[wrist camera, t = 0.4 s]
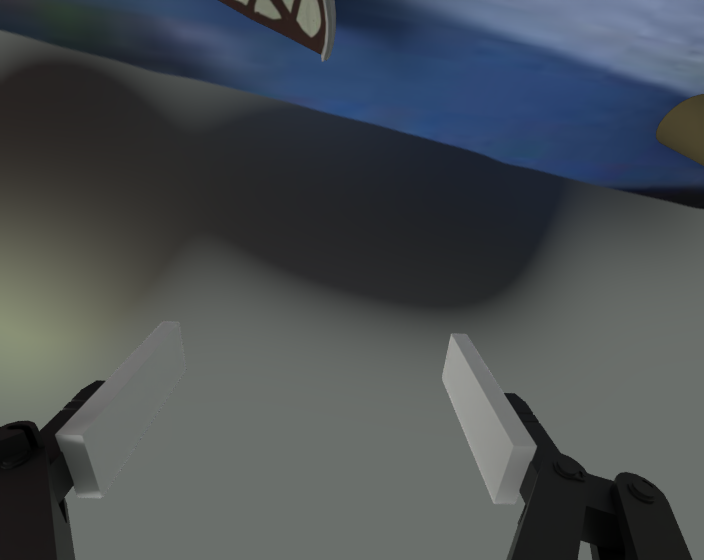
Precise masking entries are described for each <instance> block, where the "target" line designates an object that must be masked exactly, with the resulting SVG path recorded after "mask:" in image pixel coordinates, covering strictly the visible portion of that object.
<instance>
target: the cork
mask: <svg viewBox="0 0 704 560" xmlns="http://www.w3.org/2000/svg"><path fill="white" fill-rule="evenodd" d="M656 138H657V140H658V141H659V143H661V144H663V145H665V146H667V147H669V148H671V149H673V150H675V151H677V152H678V153H680V154H682V155H684V156H686V157H688V158H690V159H692V160H694V161H696V162H697V163H699V164H701V165H703V166H704V94H701V95H697V96H694V97H691V98H689V99H687V100H685V101H683V102H681V103H680V104H679V105H677V106H676V107H674V108H673V109H672V110H671V111H670V112H669V113H668V114H667V115H666V116H665V117H664V118H663V120H662V121H661V122H660V124H659V126H658V128H657V131H656Z"/></svg>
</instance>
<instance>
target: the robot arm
mask: <svg viewBox="0 0 704 560" xmlns="http://www.w3.org/2000/svg"><path fill="white" fill-rule="evenodd" d="M185 371H186V365H185V357H184V351H183V344H182V337H181V330H180V324H179V322H169V321H168V322H167V321H162V322H161V324H160V325H159V326H158V327H157V328H156V329H155V330H154V331H153V332H152V333H151V334H150V335H149V336H148V337H147V338H146V339H145V340H144V342H142V344H141V345H140V346H139V347H138V348H137V349H136V350H135V351H134V352H133V353H132V354H131V355H130V356H129V357H128V358H127V359H126V361H125V362H124V363H123V364H122V365H121V366H120V367H119V368H118V369H117V370H116V371H115V372H114V373H113V374H112V375H111V376H110V377H109V378H108V379H107V380H106V381H95V382H94V383H92V384H90V385H88V386H87V387H85V388H84V389H82V390H81V391H80V392H79V393H78V394H77V395H76V396H75V397H74V398H73V399H72V401H71V402H69V403H68V404H67V405H66V406H65V407H64V408H63V410H62V411H60V412H59V413H58V414H57V415H56V416H55V417H54V418H53V419H52V420H51V421H49V423H48V424H47V425H45V426H44V427H43V428H42V429H41V430H40V431H39V430H38V428H37V426H36V424H35V423H34V422H31V421H17V422H13V423H9V424H6V425H4V426H2V427H0V560H75V555H74V548H73V542H72V535H71V528H70V522H69V516H68V509H67V503H66V500H65V498H64V497H65V496H66V494H67V493H68V492H69V490H70V489H71V488H72V486H74V488H75V491H76V494H77V497H78V498H103V496H104V495H105V493H106V491H107V490H108V488H109V487H110V485H111V484H112V482H113V481H114V479H115V478H116V476H117V475H118V473H119V472H120V470H121V468H122V467H123V465H124V464H125V462H126V461H127V459H128V458H129V456H130V454H131V453H132V452H133V450H134V449H135V447H136V446H137V444H138V443H139V441H140V440H141V438H142V436H143V435H144V433H145V432H146V430H147V429H148V427H149V426H150V424H151V423H152V421H153V420H154V418H155V417H156V415H157V414H158V412H159V410H160V409H161V407H162V406H163V404H164V403H165V401H166V400H167V398H168V397H169V395H170V394H171V392H172V391H173V389H174V387H175V386H176V384H177V383H178V381H179V380H180V378H181V377H182V375H183V374H184V372H185ZM442 380H443V382H444V385H445V387H446V390H447V392H448V394H449V397H450V399H451V402H452V404H453V407H454V409H455V411H456V414H457V416H458V418H459V421H460V424H461V426H462V428H463V431H464V433H465V436H466V438H467V440H468V443H469V445H470V448H471V450H472V453H473V455H474V457H475V460H476V462H477V464H478V467H479V469H480V472H481V474H482V477H483V479H484V481H485V484H486V486H487V488H488V491H489V494H490V496H491V498H492V501H493V503H494V504H515V503H516V500H517V498H518V495H519V493H520V494H521V496H522V498H523V500H524V502H525V506H524V509H523V512H522V514H521V516H520V519H519V521H518V527H517V530H516V533H515V536H514V539H513V542H512V545H511V548H510V551H509V554H508V557H507V560H578V553H579V547H580V541H584V542H588V543H590V548H591V554H592V560H692V558H691V555H690V553H689V551H688V548H687V545H686V543H685V541H684V538H683V536H682V533H681V531H680V529H679V526H678V524H677V521H676V519H675V517H674V514H673V512H672V509H671V507H670V505H669V502H668V500H667V499H666V497H665V495H664V494H663V493H662V492H661V491H660V490H659V489H658V488H657V487H656V486H655V485H654V484H652V483H651V482H649V481H648V480H646V479H645V478H643V477H640V476H638V475H636V474H632V473H628V472H624V473H620V474H618V475H617V476H616V478H615V480H614V481H611V480H608V479H604V478H601V477H598V476H594V475H591V474H588V473H587V472H586V471H585V469H584V468H583V467H582V466H581V465H580V464H579V463H578V462H577V461H575V460H574V459H572V458H571V457H569V456H566V455H564V454H561V453H560V452H559V450H558V449H557V447H556V446H555V444H554V443H553V441H552V440H551V438H550V437H549V436H548V434H547V433H546V431H545V430H544V428H543V427H542V426H541V424H540V423H539V421H538V420H537V418H536V417H535V415H533V412H532V411H531V409H530V408H529V406H528V405H527V404H526V402H525V401H523V400H522V399H521V398H520V397H518V396H517V395H516V394H515V393H503V391H502V390H501V388H500V387H499V385H498V384H497V382H496V381H495V379H494V377H493V376H492V374H491V373H490V371H489V369H488V368H487V366H486V364H485V363H484V361H483V360H482V358H481V357H480V355H479V353H478V352H477V350H476V349H475V347H474V345H473V344H472V342H471V341H470V339H469V337H468V336H467V334H451V338H450V342H449V347H448V352H447V357H446V361H445V366H444V371H443V375H442Z"/></svg>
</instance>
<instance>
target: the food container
mask: <svg viewBox="0 0 704 560" xmlns="http://www.w3.org/2000/svg"><path fill="white" fill-rule="evenodd" d="M218 1H220V2H222V3H224V4H226V5H227V6H229V7H231V8H233V9H234V10H236V11H238V12H240V13H241V14H243V15H245V16H247V17H248V18H250V19H252V20H254V21H256V22H258V23H260V24H262V25H264V26H266V27H268V28H270V29H272V30H274V31H276V32H278V33H280V34H282V35H284V36H286V37H288V38H290V39H292V40H294V41H296V42H298V43H300V44H302V45H304V46H305V47H307V48H309V49H311V50H313V51H315V52H317V53H319V54H321V58H322V62H323V61H324V60H326V61H327V59H328V58H329V57H330V55H331V51H332V48H333V44H334V38H335V31H336V10H335V1H334V0H218Z"/></svg>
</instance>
